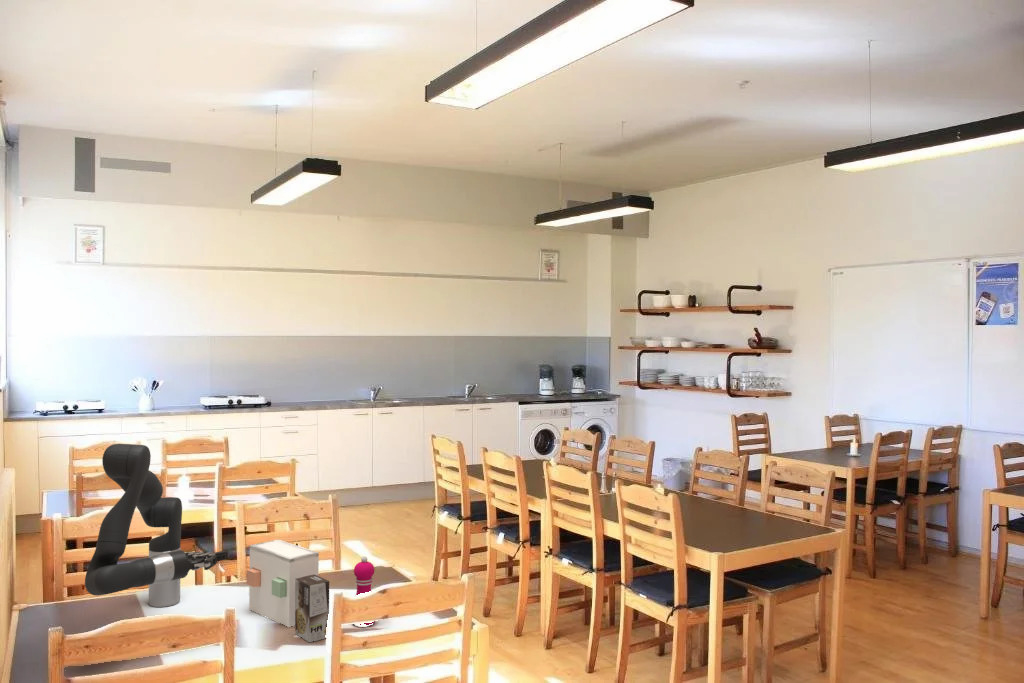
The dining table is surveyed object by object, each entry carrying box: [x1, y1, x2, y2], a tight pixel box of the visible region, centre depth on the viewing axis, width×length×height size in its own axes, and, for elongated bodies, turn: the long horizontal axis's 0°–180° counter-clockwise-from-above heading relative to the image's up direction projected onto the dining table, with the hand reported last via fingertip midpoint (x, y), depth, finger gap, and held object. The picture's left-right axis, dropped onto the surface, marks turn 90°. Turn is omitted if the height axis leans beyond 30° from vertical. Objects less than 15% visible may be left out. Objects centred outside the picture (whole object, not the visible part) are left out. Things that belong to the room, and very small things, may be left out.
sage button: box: [272, 578, 287, 598], centre depth 240 cm, size 4×4×4 cm
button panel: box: [248, 539, 320, 628], centre depth 249 cm, size 22×10×20 cm, turn 48°
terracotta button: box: [246, 568, 261, 587], centre depth 250 cm, size 4×4×4 cm
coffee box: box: [294, 574, 331, 643], centre depth 232 cm, size 9×6×16 cm
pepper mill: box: [353, 556, 375, 625], centre depth 242 cm, size 7×7×20 cm
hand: (225, 554), depth 235 cm, fingers closed
